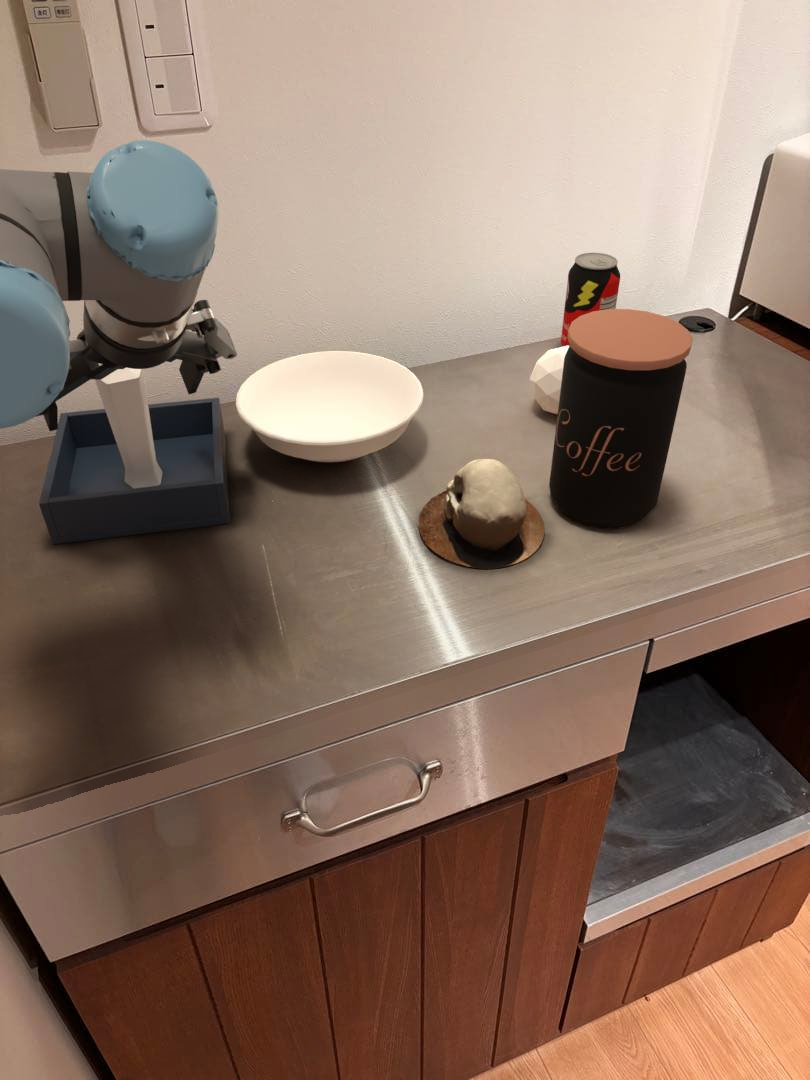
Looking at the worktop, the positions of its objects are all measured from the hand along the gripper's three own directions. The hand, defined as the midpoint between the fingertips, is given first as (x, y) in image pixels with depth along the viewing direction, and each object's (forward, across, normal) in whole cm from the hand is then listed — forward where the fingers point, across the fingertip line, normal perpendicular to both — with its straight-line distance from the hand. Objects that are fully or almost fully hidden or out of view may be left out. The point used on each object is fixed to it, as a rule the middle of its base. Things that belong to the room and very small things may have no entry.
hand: (120, 398), depth 83 cm
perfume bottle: (+6, 0, -7) cm, 9 cm away
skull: (-11, +26, -25) cm, 37 cm away
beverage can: (+6, +59, -8) cm, 60 cm away
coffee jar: (-13, +38, -27) cm, 48 cm away
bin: (+6, 0, -8) cm, 10 cm away
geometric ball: (-2, +46, -15) cm, 49 cm away
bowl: (+4, +20, -10) cm, 23 cm away
